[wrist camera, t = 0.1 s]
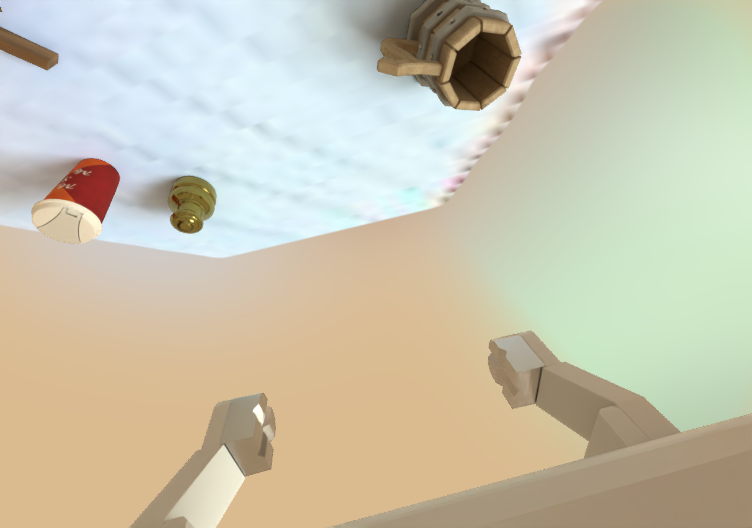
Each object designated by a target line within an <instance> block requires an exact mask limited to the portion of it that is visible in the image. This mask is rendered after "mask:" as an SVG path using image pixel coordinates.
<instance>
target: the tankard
mask: <svg viewBox="0 0 752 528" xmlns="http://www.w3.org/2000/svg"><path fill="white" fill-rule="evenodd" d="M380 50H381V52H382V54H383V55H384V57H383V58H381V59H380V60H379V61H378V65H377V70H378V72H382V73H386V74H390V75H393V76H404V75H415V76H416V78H417V80H418V81H419V83H420V84H421V86H426V87H430V89H431V90H432V91H433V92H434V93H436V94H437V95H438V97H439V99H440V101H441V102H442V103H443V104H444V105H445V106H452V107H453V108H454V109H461V110H476V111H479V110H480V109H481V110H482V109H484V108H485V107H486V106H487V105H489V104H490V103H491V102H493V101H494V100H495V99H497V98H498V97H499V96H501V95H502V94H503V93H505V92H506V89H505V88H509V86H510V83H511V81H512V78H513V76H514V73H515V71H516V69H517V66H518V64H519V61H520V59H521V56H519V55H521V54H522V53H521V50H520V47H519V44H518V41H517V38H516V34H515V31H514V28H513V25H511V24H510V23H509V20H508V17H507V14H505V13H503V12H501V11H499V10H493V9H490V6H488V5H486V4H484V3H481V0H426V1H425V2H424V3H423V4H422V5H421V6H420V7H419V8H418V9H416V10H415V11H414V12H413V13H412V14H411V16H410V21H409V27H408V33H407V39H397V38H387V39H385V40H384V41H383V42H381V49H380ZM385 57H386V58H385Z"/></svg>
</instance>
